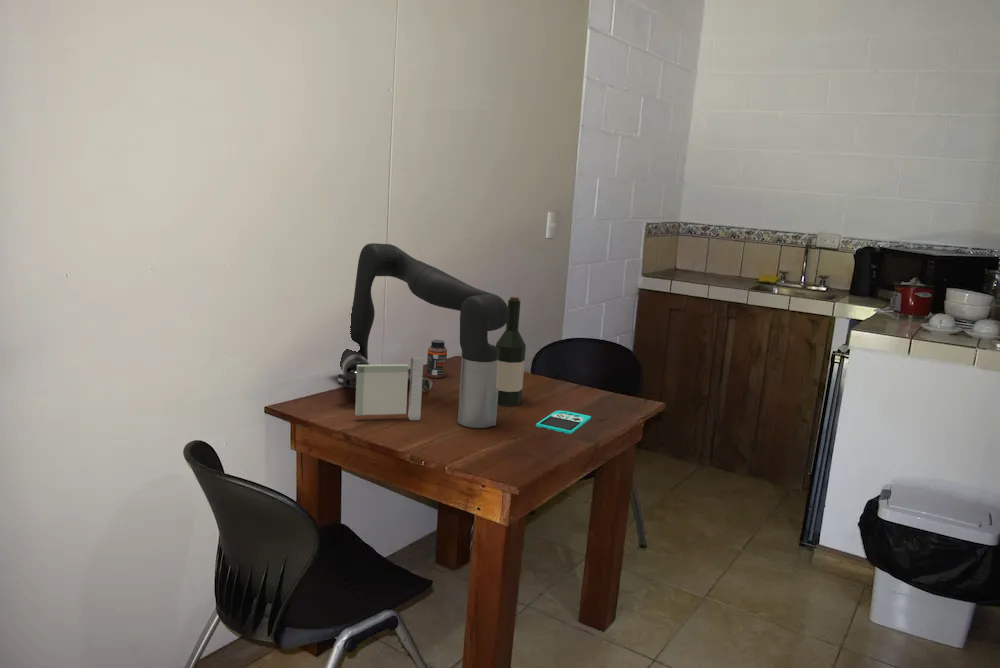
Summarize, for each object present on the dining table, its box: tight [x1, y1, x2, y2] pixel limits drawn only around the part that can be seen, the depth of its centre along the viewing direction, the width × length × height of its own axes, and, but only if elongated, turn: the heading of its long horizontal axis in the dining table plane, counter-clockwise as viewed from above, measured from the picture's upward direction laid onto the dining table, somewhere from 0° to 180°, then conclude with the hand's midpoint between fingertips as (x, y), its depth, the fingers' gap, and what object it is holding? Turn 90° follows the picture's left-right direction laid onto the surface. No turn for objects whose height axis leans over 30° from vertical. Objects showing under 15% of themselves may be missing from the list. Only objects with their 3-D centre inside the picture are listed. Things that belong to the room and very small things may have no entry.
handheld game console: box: [535, 410, 592, 435], centre depth 205 cm, size 10×16×1 cm, turn 155°
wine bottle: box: [495, 296, 526, 407], centre depth 217 cm, size 8×8×30 cm
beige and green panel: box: [354, 363, 410, 417], centre depth 195 cm, size 13×2×13 cm, turn 108°
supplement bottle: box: [426, 339, 448, 379], centre depth 240 cm, size 6×6×11 cm
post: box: [407, 356, 424, 421], centre depth 198 cm, size 3×3×16 cm
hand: (365, 388), depth 199 cm, fingers closed
